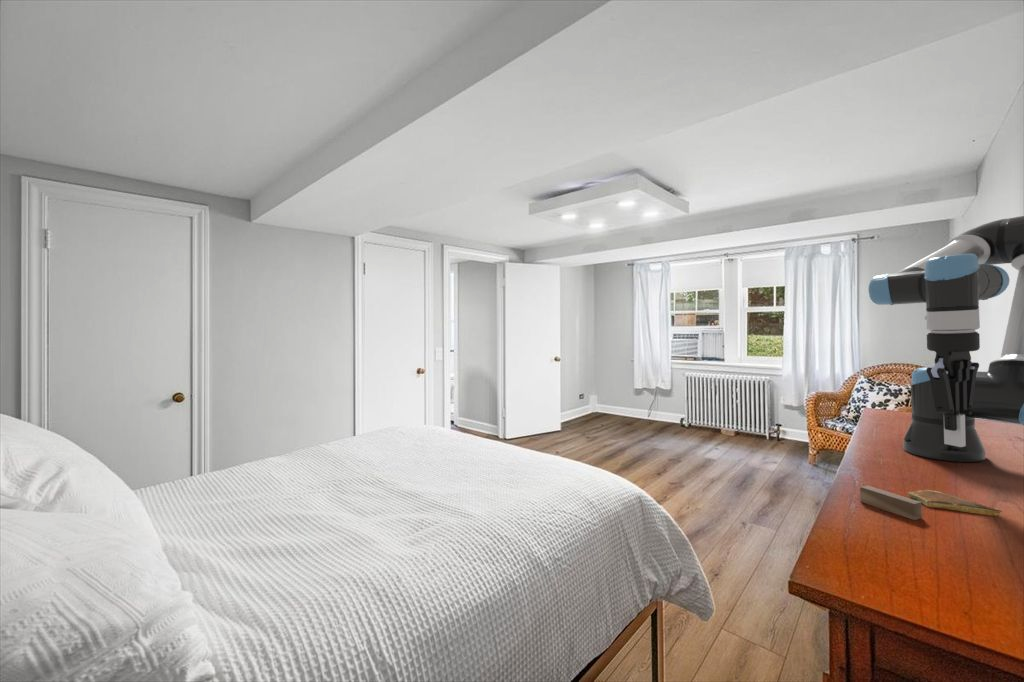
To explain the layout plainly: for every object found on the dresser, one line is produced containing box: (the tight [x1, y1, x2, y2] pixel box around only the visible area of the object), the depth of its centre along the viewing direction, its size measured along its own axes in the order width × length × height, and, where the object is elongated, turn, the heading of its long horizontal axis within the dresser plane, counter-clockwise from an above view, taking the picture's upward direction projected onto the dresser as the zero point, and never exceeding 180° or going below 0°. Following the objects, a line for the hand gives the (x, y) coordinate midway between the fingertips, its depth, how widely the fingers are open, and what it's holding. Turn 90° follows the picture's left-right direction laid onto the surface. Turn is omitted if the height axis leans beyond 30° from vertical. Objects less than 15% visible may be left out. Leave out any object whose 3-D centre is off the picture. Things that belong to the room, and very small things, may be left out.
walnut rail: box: [859, 485, 923, 521], centre depth 82 cm, size 2×9×3 cm, turn 19°
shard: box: [907, 489, 1003, 517], centre depth 82 cm, size 11×8×2 cm
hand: (954, 444), depth 88 cm, fingers closed
